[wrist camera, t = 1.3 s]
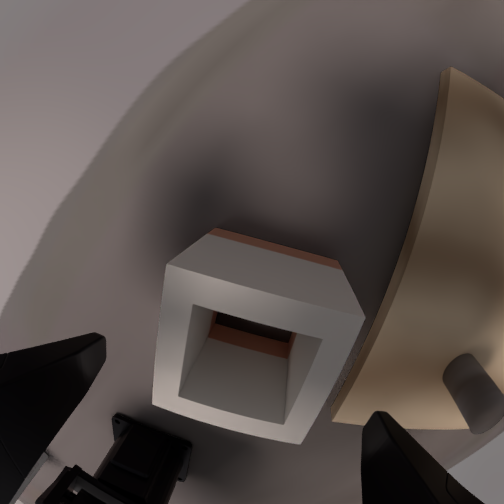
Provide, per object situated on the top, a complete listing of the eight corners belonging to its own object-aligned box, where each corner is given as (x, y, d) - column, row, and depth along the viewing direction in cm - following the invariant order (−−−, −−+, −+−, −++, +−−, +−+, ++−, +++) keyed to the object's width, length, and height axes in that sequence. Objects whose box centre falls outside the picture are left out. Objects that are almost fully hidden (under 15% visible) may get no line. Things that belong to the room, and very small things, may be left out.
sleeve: (300, 361, 16) (300, 444, 10) (194, 333, 16) (151, 404, 10) (337, 260, 14) (365, 317, 8) (215, 227, 14) (166, 263, 9)
